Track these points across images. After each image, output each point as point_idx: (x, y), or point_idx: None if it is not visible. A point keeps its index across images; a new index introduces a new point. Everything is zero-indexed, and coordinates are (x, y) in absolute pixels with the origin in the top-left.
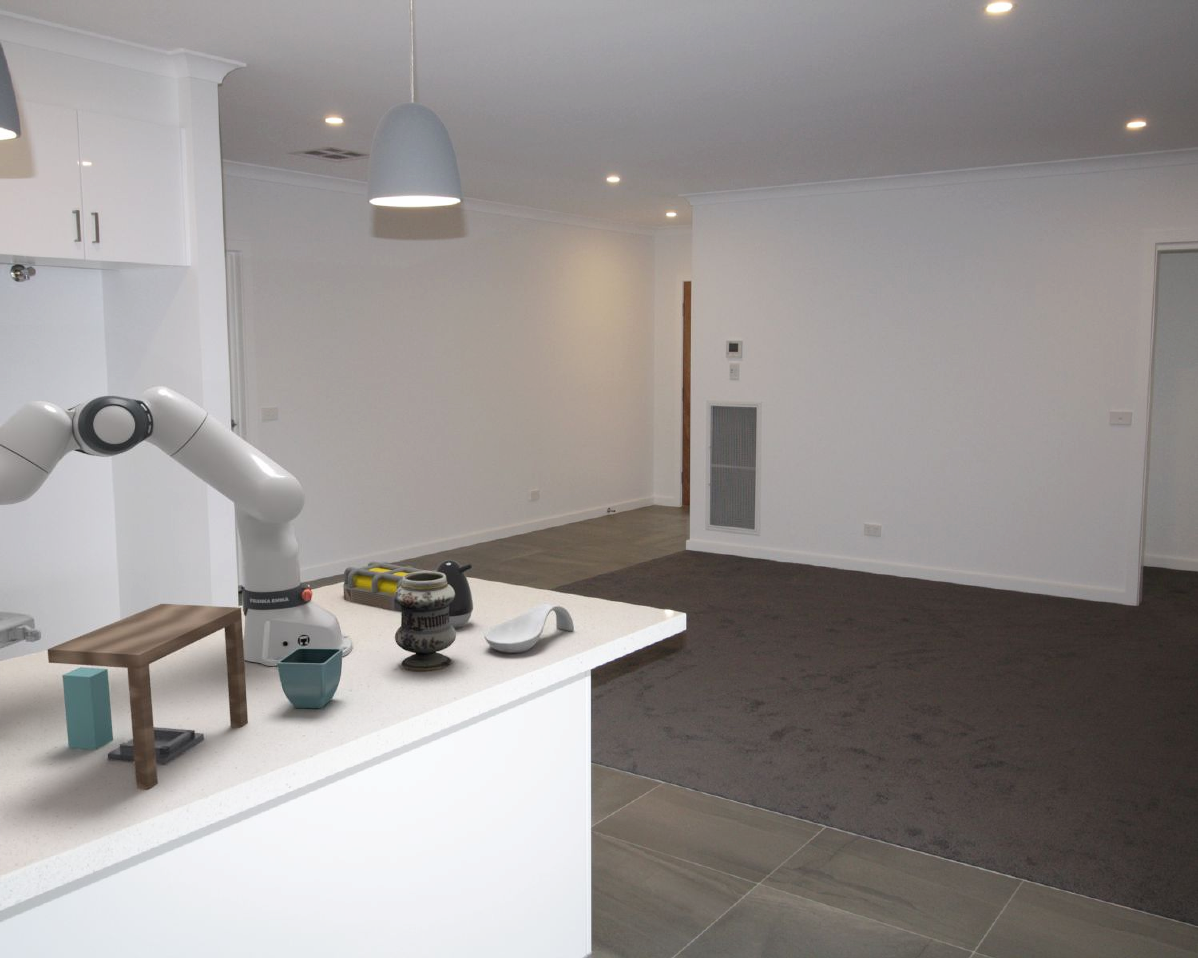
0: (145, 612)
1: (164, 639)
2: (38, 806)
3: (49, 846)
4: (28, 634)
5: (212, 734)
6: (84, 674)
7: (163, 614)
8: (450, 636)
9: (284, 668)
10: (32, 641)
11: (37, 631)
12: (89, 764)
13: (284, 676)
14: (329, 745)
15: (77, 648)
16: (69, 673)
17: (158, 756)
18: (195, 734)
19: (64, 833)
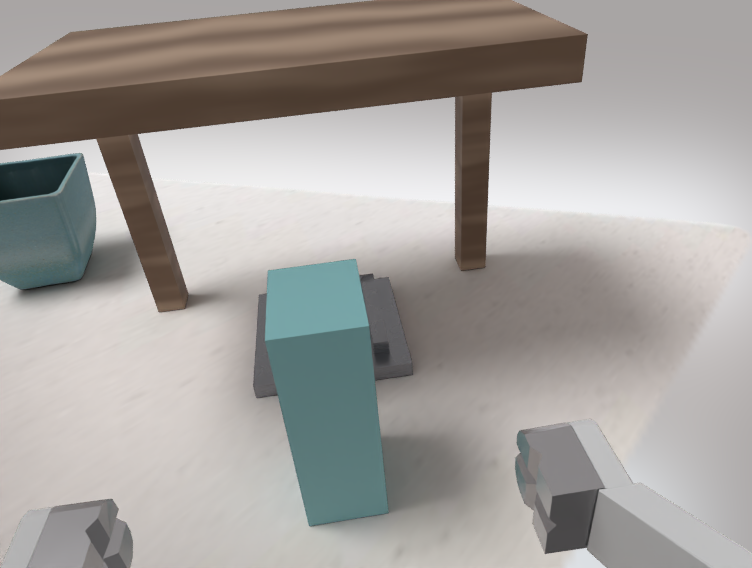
0: (104, 81)
1: (374, 3)
2: (638, 328)
3: (686, 238)
4: (101, 558)
5: (232, 309)
6: (337, 283)
7: (136, 60)
8: None
9: (68, 197)
10: (130, 558)
11: (61, 507)
12: (450, 388)
13: (72, 216)
14: (252, 192)
15: (528, 20)
16: (344, 320)
17: (384, 288)
18: (265, 302)
19: (651, 247)
